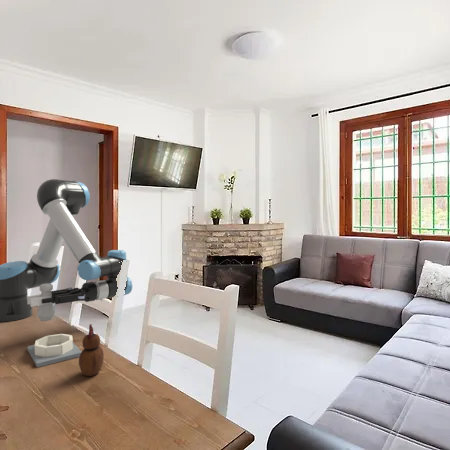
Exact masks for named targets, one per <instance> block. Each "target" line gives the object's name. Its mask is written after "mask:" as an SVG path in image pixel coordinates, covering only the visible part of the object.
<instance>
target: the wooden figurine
mask: <svg viewBox="0 0 450 450" xmlns="http://www.w3.org/2000/svg"><path fill="white" fill-rule="evenodd" d="M100 345H101V338H100V335H99V334H97V333H94V328H93V326H92V323H91V324H89V326H88V334H87V335H85V336H84V337H83V339H82V347H83V350H81V351H82V352H81V354H80V356H79V357H78V366H79V369H80V371H81V373H82V375H84V376H86V377H92V376H93V377H94V376H96V375H97V374H98V373H100V371H101V369H102V367H103V364H104V358H105V356H104V350H103V348H102V347H101V346H100Z"/></svg>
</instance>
